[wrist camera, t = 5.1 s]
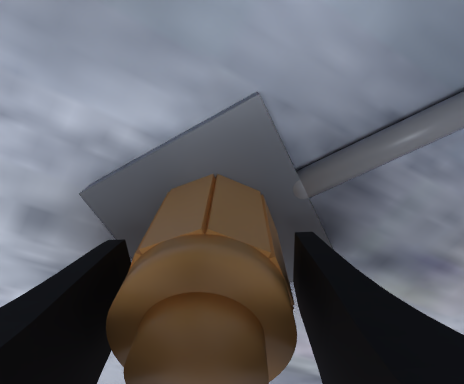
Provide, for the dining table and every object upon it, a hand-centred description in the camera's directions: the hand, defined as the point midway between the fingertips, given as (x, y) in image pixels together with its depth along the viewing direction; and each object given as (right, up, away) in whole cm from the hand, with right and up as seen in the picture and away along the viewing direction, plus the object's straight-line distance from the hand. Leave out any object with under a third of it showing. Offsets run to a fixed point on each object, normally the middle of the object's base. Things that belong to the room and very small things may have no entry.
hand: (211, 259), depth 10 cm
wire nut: (0, +1, +2) cm, 2 cm away
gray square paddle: (+5, +3, +2) cm, 6 cm away
